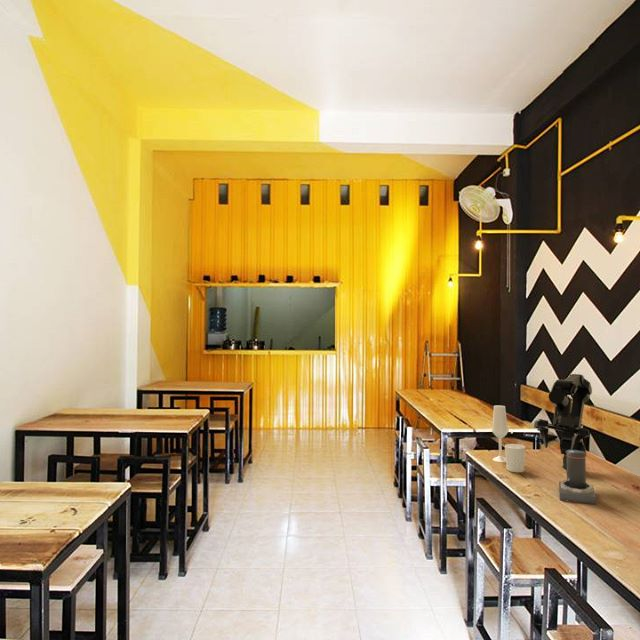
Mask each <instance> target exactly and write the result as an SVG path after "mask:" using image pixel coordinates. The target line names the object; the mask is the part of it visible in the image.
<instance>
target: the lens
mask: <svg viewBox="0 0 640 640" xmlns="http://www.w3.org/2000/svg"><path fill="white" fill-rule="evenodd" d="M566 456H567V470H566V480H567V486H568V487H572V488H579V489H583V488H586V483H587V471H586V470H587V468H586V464H587V463H586V459H587V458H586V457H587V455H586V456H585V452H584V451H580V450H567V451H566Z"/></svg>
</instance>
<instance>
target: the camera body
mask: <svg viewBox="0 0 640 640" xmlns="http://www.w3.org/2000/svg"><path fill="white" fill-rule="evenodd" d="M558 496H559V497H558V498H559V501H564V500H568V501H567V502H572V501H576V502H575V503H580V502H582V503H583V504H588V503H589V504H588V505H597V503H596V500H597V498H596V497H597V496H596V493H595V489H594V485H592V484H591V483H589V482H586V488H583V489H579V488H572V487H568V486H567V479H564V480H561V481H558Z"/></svg>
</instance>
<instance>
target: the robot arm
mask: <svg viewBox="0 0 640 640" xmlns="http://www.w3.org/2000/svg"><path fill="white" fill-rule="evenodd" d="M592 393H593V387H592V385H591V382H590V381H589V380H588V379H586V378H585V376H584V375H583V374H578V373H577V374H576V373H571V374H569V376H568V377H567V378H565V379H556V380H555V382H553V385H552V387H551V390H550V392H549V393H548V399H549V401H550V402H551V404H553V405H554V413H553V423H549V420H545V419H541V418H538V419H537V420H535V421H534V423H533V429H536V430H537V431H538V432H539V433H540V435H541V438H542V441H543V444H544V447H545V449H547V448H548V445H549V429H550V430H555V431H561V432H562V436H561V439H560V440H559V449H560V454H561V455H563V457H562V466H561V467H562V468H563V469H565V470H566V471H567V456H566V451H567V450H580V451H584V452H585V456H586V457H587V449H586V446H585V443H584V440H583V439H586V438H589V437H590V431H589V429H588V428H586V427H585V428H584V427H582V422H583V420H582V419H583V413H584V408H585V404H586V403H587V402H588V401H589V400H590V397H591V396H592Z"/></svg>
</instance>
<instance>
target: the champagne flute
mask: <svg viewBox="0 0 640 640" xmlns="http://www.w3.org/2000/svg"><path fill="white" fill-rule="evenodd" d="M492 413H493V416H492V424H491V426H492V427H491V432H492V434H494V436H495V437H496V438H497V439H498V456H496V457H493V458H492V461H493V462H498V463H506V457H505V456H503V455H502V453H503V449H502V448H503V447H502V445H503V443H502V442H503V441H502V440H503V439H504V438H505V436H507V434H508V433H509V430H508V429H509V428H508V427H509V426H508V420H507V411H506V406H505V405H501V404H500V405H493V412H492Z"/></svg>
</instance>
